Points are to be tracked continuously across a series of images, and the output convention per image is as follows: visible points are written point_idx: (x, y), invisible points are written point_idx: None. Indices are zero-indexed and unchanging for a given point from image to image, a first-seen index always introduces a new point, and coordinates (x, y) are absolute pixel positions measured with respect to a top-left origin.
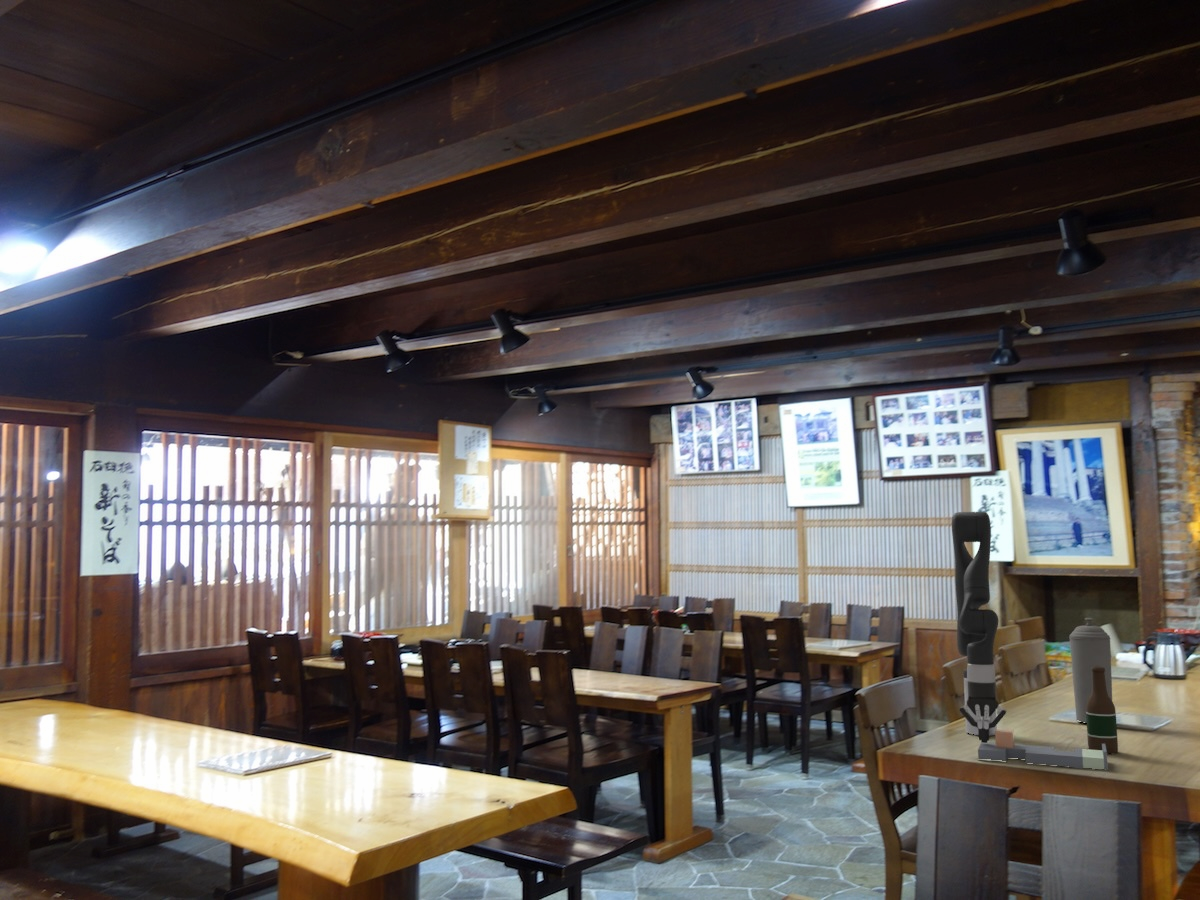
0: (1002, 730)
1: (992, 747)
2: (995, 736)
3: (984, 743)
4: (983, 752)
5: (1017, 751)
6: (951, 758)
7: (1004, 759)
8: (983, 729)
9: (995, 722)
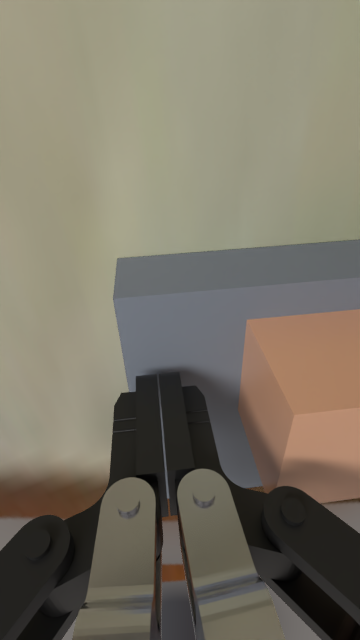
0: (350, 437)
1: (217, 439)
2: (258, 472)
3: (151, 351)
4: None
5: None
6: (21, 462)
7: None
8: (167, 509)
9: (316, 595)
